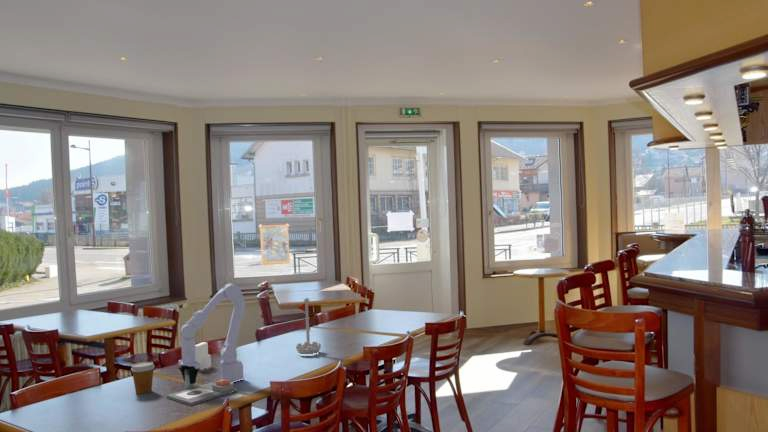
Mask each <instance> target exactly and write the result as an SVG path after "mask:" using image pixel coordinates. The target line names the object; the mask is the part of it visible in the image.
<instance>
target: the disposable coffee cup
mask: <svg viewBox="0 0 768 432" xmlns="http://www.w3.org/2000/svg"><path fill="white" fill-rule="evenodd" d="M154 369H155V364H154V362H153V361H143V362H137V363H134V364H131V368H130V370H131V372H132V378H133V383H134V390H135V394H137V395H143V394H149V393H151V392H152V389H153V380H154Z"/></svg>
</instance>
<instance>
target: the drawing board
mask: <svg viewBox="0 0 768 432" xmlns="http://www.w3.org/2000/svg"><path fill="white" fill-rule="evenodd" d="M237 389H238V388H236V387H235V383H230V384H229V385H225V386H222V387H221V386H217V385H216V382H214V381H211V382H208V383H205V384H201V385H197V386H195V387H193V388H190V389H186V388H185V389H183V390H181V391H176V392H173V393H169V394H167V395H166V398H167V399H168V400H172V401H174V400H175V402H178V403H181V404H185V405H187V406H190V407H191V406H195V405H197V403H198V404H201V403H204V402H207V401H206V400H208V401H210V400H209V399H211V400H213V399H212V398H214V399H216V398H215V397H217V398H220V397H223V396H222V395H224V396H226V395H225V394H227V393H230V392H232V391H235V390H237ZM237 391H238V390H237ZM230 394H231V393H230ZM227 395H228V394H227ZM219 396H220V397H219ZM203 401H204V402H203ZM200 402H201V403H200Z"/></svg>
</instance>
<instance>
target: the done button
mask: <svg viewBox="0 0 768 432" xmlns="http://www.w3.org/2000/svg"><path fill="white" fill-rule="evenodd" d="M215 383H216V385H217V386H221V387H222V386H225V385H229V384H230V381H229V380H226V379H222V380H221V379H220V380H215Z"/></svg>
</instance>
